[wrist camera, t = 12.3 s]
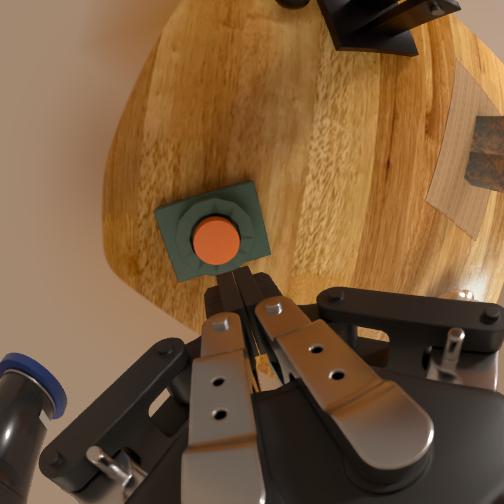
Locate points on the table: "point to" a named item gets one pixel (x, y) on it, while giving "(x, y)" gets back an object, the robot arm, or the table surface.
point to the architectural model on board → (469, 155)
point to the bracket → (380, 23)
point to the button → (216, 240)
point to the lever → (292, 4)
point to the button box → (207, 205)
